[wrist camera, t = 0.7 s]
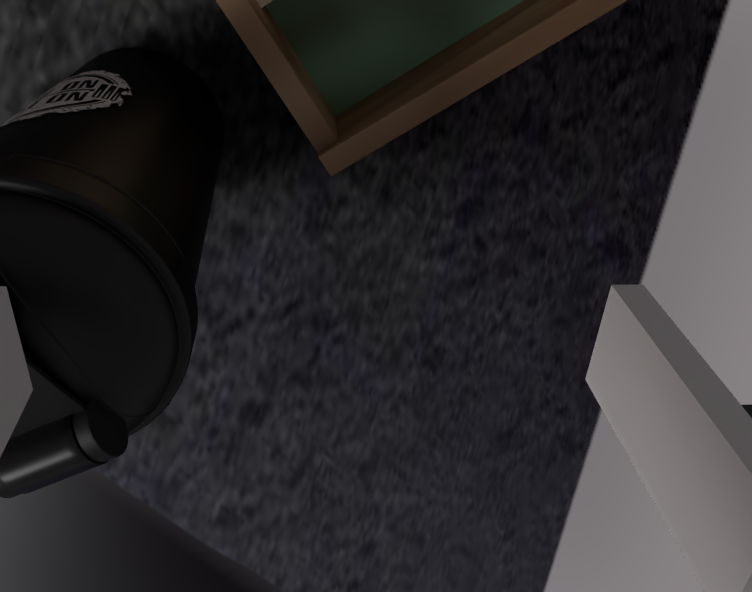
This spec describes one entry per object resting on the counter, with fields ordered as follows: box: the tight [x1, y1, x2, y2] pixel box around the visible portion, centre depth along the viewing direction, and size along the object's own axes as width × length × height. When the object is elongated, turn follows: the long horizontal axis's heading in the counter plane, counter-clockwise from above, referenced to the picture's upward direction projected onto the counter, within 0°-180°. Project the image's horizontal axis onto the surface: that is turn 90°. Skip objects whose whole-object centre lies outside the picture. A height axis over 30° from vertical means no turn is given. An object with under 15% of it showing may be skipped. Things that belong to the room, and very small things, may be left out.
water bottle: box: [0, 48, 224, 498], centre depth 28 cm, size 10×10×23 cm
